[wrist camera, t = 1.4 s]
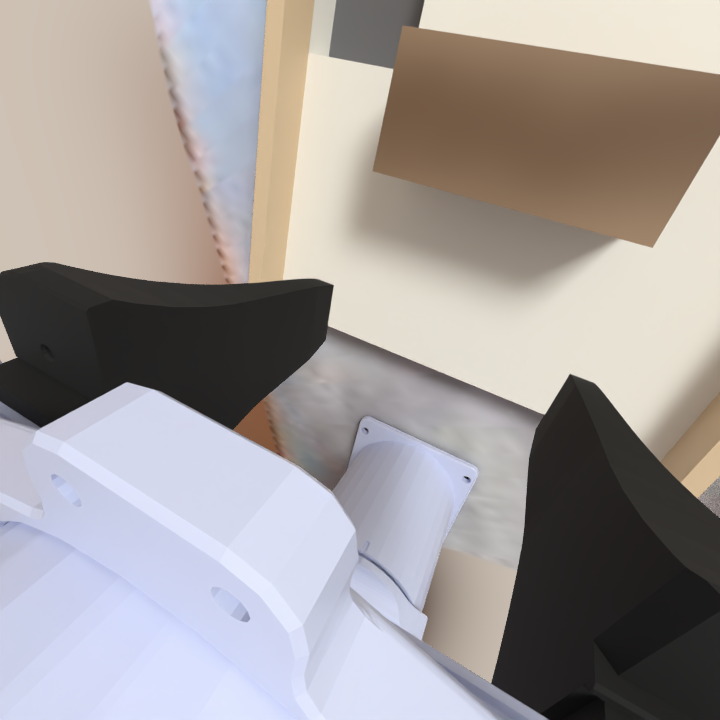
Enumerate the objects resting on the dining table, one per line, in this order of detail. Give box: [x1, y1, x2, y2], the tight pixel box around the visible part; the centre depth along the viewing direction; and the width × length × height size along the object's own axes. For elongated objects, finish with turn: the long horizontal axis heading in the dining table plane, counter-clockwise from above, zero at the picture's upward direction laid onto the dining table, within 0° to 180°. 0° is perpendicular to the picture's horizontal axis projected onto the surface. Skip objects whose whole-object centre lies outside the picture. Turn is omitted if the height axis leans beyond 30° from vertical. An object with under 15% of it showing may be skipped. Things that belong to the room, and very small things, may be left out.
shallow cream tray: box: [248, 0, 720, 498], centre depth 14 cm, size 24×22×4 cm
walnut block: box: [373, 26, 720, 248], centre depth 13 cm, size 4×9×4 cm, turn 76°
